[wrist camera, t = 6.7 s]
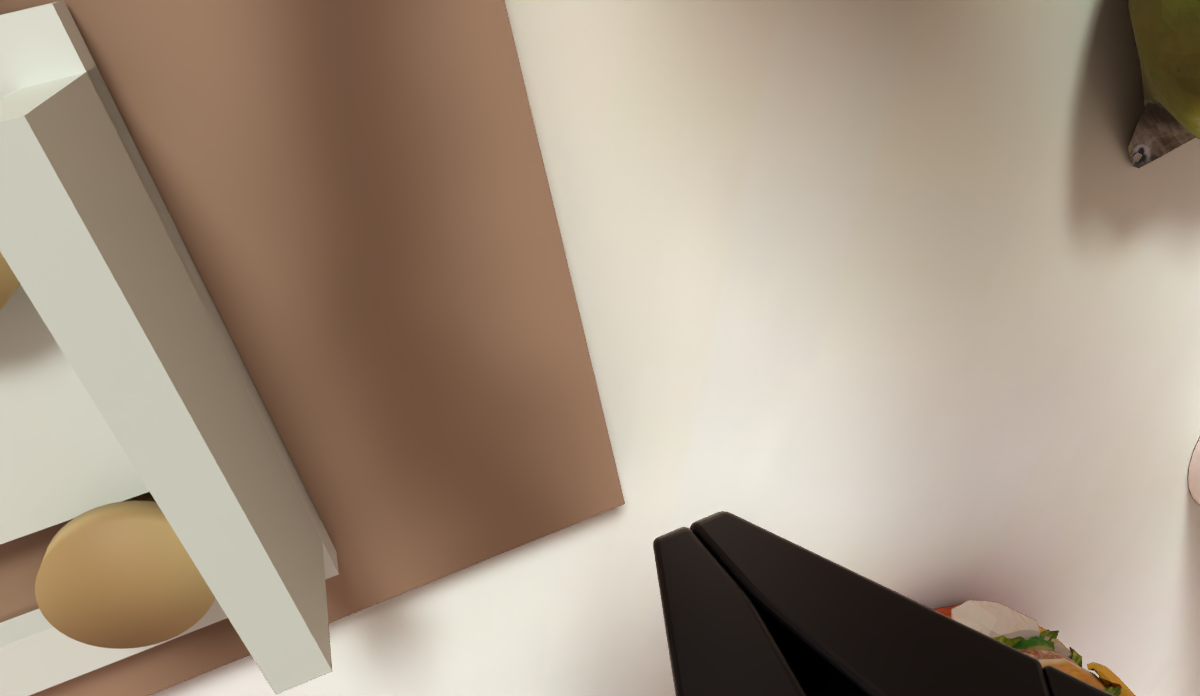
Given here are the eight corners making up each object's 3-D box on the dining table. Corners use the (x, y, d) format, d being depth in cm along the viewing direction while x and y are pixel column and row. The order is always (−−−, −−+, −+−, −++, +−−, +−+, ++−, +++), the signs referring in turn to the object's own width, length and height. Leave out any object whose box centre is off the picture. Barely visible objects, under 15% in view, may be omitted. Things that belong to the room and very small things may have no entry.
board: (435, -223, 14) (473, -262, 11) (609, 478, 22) (656, 554, 20) (-991, 61, 10) (-1448, 106, 8) (-165, 783, 18) (-243, 932, 16)
